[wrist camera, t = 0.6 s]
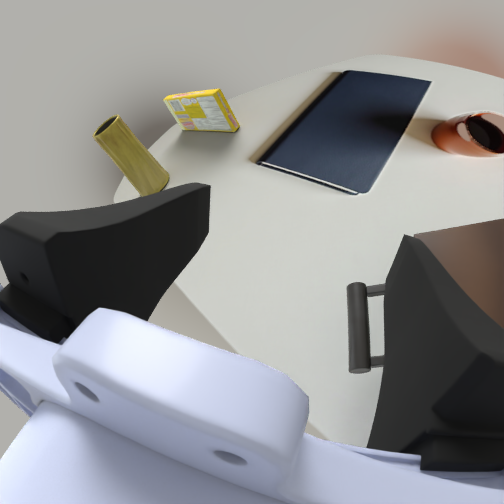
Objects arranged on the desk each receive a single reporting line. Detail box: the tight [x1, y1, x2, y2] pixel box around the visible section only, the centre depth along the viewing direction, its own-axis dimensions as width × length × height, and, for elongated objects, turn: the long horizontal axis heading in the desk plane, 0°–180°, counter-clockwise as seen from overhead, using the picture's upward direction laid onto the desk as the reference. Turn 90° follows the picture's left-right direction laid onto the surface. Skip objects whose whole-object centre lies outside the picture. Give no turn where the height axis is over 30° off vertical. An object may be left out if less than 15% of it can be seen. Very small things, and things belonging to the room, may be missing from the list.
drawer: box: [347, 282, 385, 374], centre depth 19 cm, size 14×10×6 cm
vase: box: [93, 115, 169, 197], centre depth 48 cm, size 6×6×14 cm
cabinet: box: [414, 219, 504, 329], centre depth 17 cm, size 11×11×7 cm
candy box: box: [163, 89, 240, 132], centre depth 55 cm, size 16×2×8 cm, turn 51°
